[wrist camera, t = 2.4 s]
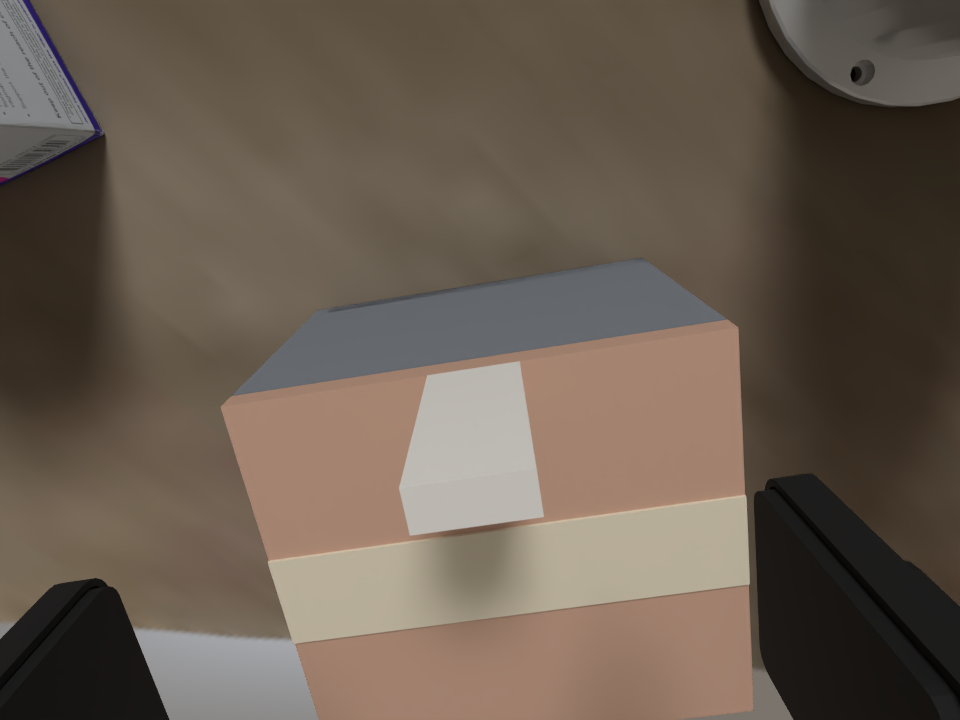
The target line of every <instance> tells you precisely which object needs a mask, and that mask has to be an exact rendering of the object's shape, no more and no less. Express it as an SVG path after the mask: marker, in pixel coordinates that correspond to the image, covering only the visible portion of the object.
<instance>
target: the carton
mask: <svg viewBox="0 0 960 720" xmlns="http://www.w3.org/2000/svg"><path fill="white" fill-rule="evenodd" d="M722 320H726V318H724V317H723V316H722V315H720V314H719V313H718V312H716V311H715V310H713V309H712V308H711V307H709V306H708V305H707V304H705V303H704V302H702V301H701V300H700V299H698V298H697V297H696V296H694V295H693V294H691V293H690V292H689V291H687V290H686V289H685V288H683V287H682V286H680V285H679V284H678V283H676V282H675V281H674V280H672V279H671V278H669V277H668V276H667V275H665V274H664V273H663V272H661V271H660V270H658V269H657V268H656V267H654V266H653V265H652V264H650V263H649V262H647V261H646V260H645V259H643V258H640V259H633V260H627V261H621V262H615V263H609V264H602V265H596V266H590V267H584V268H578V269H571V270H565V271H559V272H553V273H547V274H540V275H534V276H528V277H522V278H515V279H509V280H503V281H497V282H491V283H484V284H478V285H472V286H466V287H460V288H453V289H447V290H441V291H435V292H429V293H422V294H416V295H410V296H404V297H398V298H391V299H385V300H379V301H373V302H367V303H360V304H354V305H348V306H342V307H335V308H329V309H323V310H317V311H316V312H315V313H314V314H313V315H312V316H311V317H310V318H309V319H308V320H307V321H306V322H305V323H304V324H303V325H302V326H301V327H300V328H299V329H298V330H297V331H296V332H295V333H294V334H293V335H292V336H291V337H290V338H289V339H288V340H287V341H286V342H285V343H284V344H283V345H282V346H281V347H280V348H279V349H278V350H277V351H276V352H275V353H274V354H273V355H272V356H271V357H270V358H269V359H268V360H267V361H266V362H265V363H264V364H263V365H262V366H261V367H260V368H259V369H258V370H257V371H256V372H255V373H254V374H253V375H252V376H251V377H250V378H249V379H248V380H247V381H246V382H245V383H244V384H243V385H242V386H241V387H240V388H239V389H238V390H237V391H236V392H235V393H234V394H233V396H236V395H242V394H249V393H255V392H262V391H268V390H275V389H281V388H288V387H294V386H301V385H307V384H314V383H320V382H327V381H333V380H340V379H346V378H353V377H359V376H366V375H372V374H378V373H385V372H391V371H398V370H404V369H411V368H417V367H424V366H430V365H437V364H443V363H450V362H456V361H463V360H469V359H476V358H482V357H489V356H495V355H502V354H508V353H515V352H521V351H527V350H534V349H540V348H547V347H553V346H560V345H566V344H573V343H579V342H586V341H592V340H599V339H605V338H612V337H618V336H625V335H631V334H638V333H644V332H651V331H657V330H664V329H670V328H676V327H683V326H689V325H696V324H702V323H709V322H715V321H722Z"/></svg>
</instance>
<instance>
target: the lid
mask: <svg viewBox="0 0 960 720" xmlns="http://www.w3.org/2000/svg"><path fill="white" fill-rule="evenodd" d="M221 410H222V413H223V417H224V420H225V423H226V426H227V429H228V432H229V436H230V439H231V442H232V445H233V448H234V451H235V455H236V458H237V461H238V464H239V467H240V471H241V474H242V477H243V480H244V483H245V486H246V490H247V493H248V496H249V499H250V502H251V505H252V509H253V512H254V515H255V518H256V521H257V525H258V528H259V531H260V534H261V537H262V540H263V544H264V547H265V550H266V553H267V556H268V559H269V562H268V565H269V568H270V571H271V574H272V578H273V581H274V584H275V587H276V590H277V593H278V597H279V600H280V603H281V606H282V609H283V612H284V616H285V619H286V622H287V625H288V628H289V631H290V635H291V638H292V641H293V644H295V645H296V648H297V652H298V655H299V658H300V661H301V664H302V667H303V670H304V674H305V677H306V680H307V683H308V686H309V690H310V693H311V696H312V699H313V702H314V706H315V709H316V712H317V715H318V718H319V720H680V719H687V718H696V717H705V716H712V715H722V714H730V713H738V712H747V711H754V706H753V704H754V703H753V681H752V680H753V678H752V654H751V629H750V604H749V585H750V574H749V549H748V524H747V499H746V495H745V481H744V457H743V432H742V407H741V383H740V358H739V333H738V327H737V326H735V325H734V324H733V323H731V322H730V321H729V320H722V321H715V322H709V323H702V324H696V325H689V326H683V327H676V328H670V329H664V330H657V331H651V332H644V333H638V334H631V335H625V336H618V337H612V338H605V339H599V340H592V341H586V342H579V343H573V344H566V345H560V346H553V347H547V348H540V349H534V350H527V351H521V352H515V353H508V354H502V355H495V356H489V357H482V358H476V359H469V360H463V361H456V362H450V363H443V364H437V365H430V366H424V367H417V368H411V369H404V370H398V371H391V372H385V373H378V374H372V375H366V376H359V377H353V378H346V379H340V380H333V381H327V382H320V383H314V384H307V385H301V386H294V387H288V388H281V389H275V390H268V391H262V392H255V393H249V394H242V395H236V396H231V397H230V398H229V399H228V400H227V401H226V402H225V403H224V404H223V405H222V406H221Z"/></svg>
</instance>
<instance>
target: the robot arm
mask: <svg viewBox="0 0 960 720" xmlns="http://www.w3.org/2000/svg"><path fill="white" fill-rule="evenodd" d="M759 2H760V5H761V8H762V11H763V13H764V16H765V19H766V22H767V24H768V27H769V29H770V30H771V32H772V34H773V35H774V37H775V39H776V40H777V42H778V43H779V45H780V47H781V48H782V50H783V52H784V53H785V55H786V56H787V57H788V58H789V59H790V60H791V61H792V62H793V63H794V64H795V65H796V66H797V67H798V68H799V69H800V70H801V71H802V72H803V73H804V75H805V76H806V77H808V78H809V79H811V80H812V81H814V82H815V83H817V84H818V85H820V86H822V87H823V88H825V89H826V90H828V91H829V92H831V93H833V94H835V95H838V96H841V97H843V98H846V99H849V100H852V101H854V102H857V103H860V104H867V105H874V106H882V107H889V108H892V107H911V106H923V105H929V104H935V103H941V102H947V101H952V100H955V99H958V98H960V0H759ZM852 68H853V69H854V70H855V78H854V79H853V81H852V80H851V76H850V74H851V70H852ZM754 515H755V540H756V565H757V591H758V616H759V641H760V651H761V655H762V659H763V662H764V665H765V668H766V670H767V672H768V674H769V676H770V678H771V680H772V682H773V683H774V685H775V687H776V689H777V690H778V693H779V694H780V696H781V698H782V700H783V701H784V703H785V705H786V707H787V709H788V710H789V712H790V714H791V716H792V717H793V719H794V720H960V607H959V606H958V605H957V604H956V603H955V602H954V601H953V600H952V599H951V598H950V597H949V596H948V595H947V594H946V593H945V592H943V591H942V590H941V589H940V588H939V587H938V586H937V585H936V584H935V583H934V582H933V581H932V580H931V579H930V578H929V577H928V576H927V575H925V574H924V573H923V572H922V571H921V570H920V569H919V568H917V567H916V566H915V565H913V564H912V563H911V562H908V561H904V560H903V559H902V558H901V557H900V556H899V555H898V554H896V553H895V552H894V551H893V550H892V549H891V548H890V547H889V546H888V545H887V544H886V543H885V542H884V541H883V540H882V539H881V538H880V537H879V536H878V535H877V534H876V533H875V532H874V531H872V530H871V529H870V528H869V527H868V526H867V525H866V524H865V523H864V522H863V521H862V520H861V519H860V518H859V517H858V516H857V515H856V514H855V513H854V512H853V511H852V510H851V509H850V508H848V507H847V506H846V505H845V504H844V503H843V502H842V501H841V500H840V499H839V498H838V497H837V496H836V495H835V494H834V493H833V492H832V491H831V490H830V489H829V488H828V487H827V486H826V485H824V484H823V483H822V482H821V481H820V480H819V479H818V478H817V477H816V476H814V475H813V474H801V475H794V476H787V477H780V478H774V479H769V480H768V481H767V483H766V486H765V490H764V491H757V492H756V493H755V496H754ZM0 720H169V718H168V715H167V713H166V710H165V708H164V705H163V703H162V700H161V698H160V695H159V693H158V690H157V688H156V685H155V683H154V681H153V678H152V675H151V673H150V671H149V668H148V665H147V663H146V660H145V658H144V655H143V653H142V650H141V648H140V645H139V643H138V640H137V638H136V636H135V633H134V630H133V628H132V625H131V623H130V620H129V618H128V615H127V613H126V610H125V608H124V605H123V603H122V600H121V598H120V595H119V594H118V592H117V590H116V589H114V588H113V587H109V586H107V584H106V583H105V582H104V581H103V580H101V579H97V578H94V579H87V580H80V581H74V582H67V583H61V584H57V585H54V586H53V587H52V588H50V589H49V590H48V591H47V592H46V593H45V594H44V595H43V596H42V597H41V598H40V599H39V600H38V601H37V602H36V603H35V604H34V605H33V606H32V607H31V608H30V609H29V610H28V611H27V612H26V613H25V614H24V615H23V616H22V617H21V618H20V620H19V621H18V622H17V623H16V624H15V625H14V626H13V627H12V628H11V629H10V630H9V631H8V632H7V633H6V634H5V635H4V636H3V637H2V638H1V639H0Z"/></svg>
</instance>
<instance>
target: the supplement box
mask: <svg viewBox="0 0 960 720" xmlns="http://www.w3.org/2000/svg"><path fill="white" fill-rule="evenodd" d="M103 134H104V132H103V130H102V129H101V127H100V125H99V123H98V121H97V119H96V117H95V116H94V114H93V112H92V110H91V109H90V107H89V105H88V103H87V102H86V100H85V98H84V97H83V95H82V93H81V91H80V90H79V88H78V86H77V84H76V82H75V81H74V79H73V77H72V75H71V73H70V72H69V70H68V69H67V67H66V65H65V63H64V61H63V59H62V57H61V56H60V54H59V53H58V51H57V49H56V47H55V45H54V43H53V41H52V39H51V37H50V36H49V34H48V32H47V30H46V28H45V26H44V25H43V23H42V22H41V20H40V18H39V16H38V14H37V13H36V11H35V9H34V7H33V5H32V4H31V2H30V0H0V185H3V184H5V183H7V182H9V181H11V180H13V179H16V178H18V177H20V176H22V175H24V174H26V173H28V172H30V171H32V170H34V169H36V168H38V167H40V166H42V165H44V164H46V163H48V162H51V161H53V160H55V159H57V158H59V157H61V156H63V155H65V154H67V153H69V152H71V151H73V150H75V149H77V148H79V147H81V146H83V145H84V144H86V143H88V142H90V141H92V140H94V139H96V138H98V137H100V136H102V135H103Z"/></svg>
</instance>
